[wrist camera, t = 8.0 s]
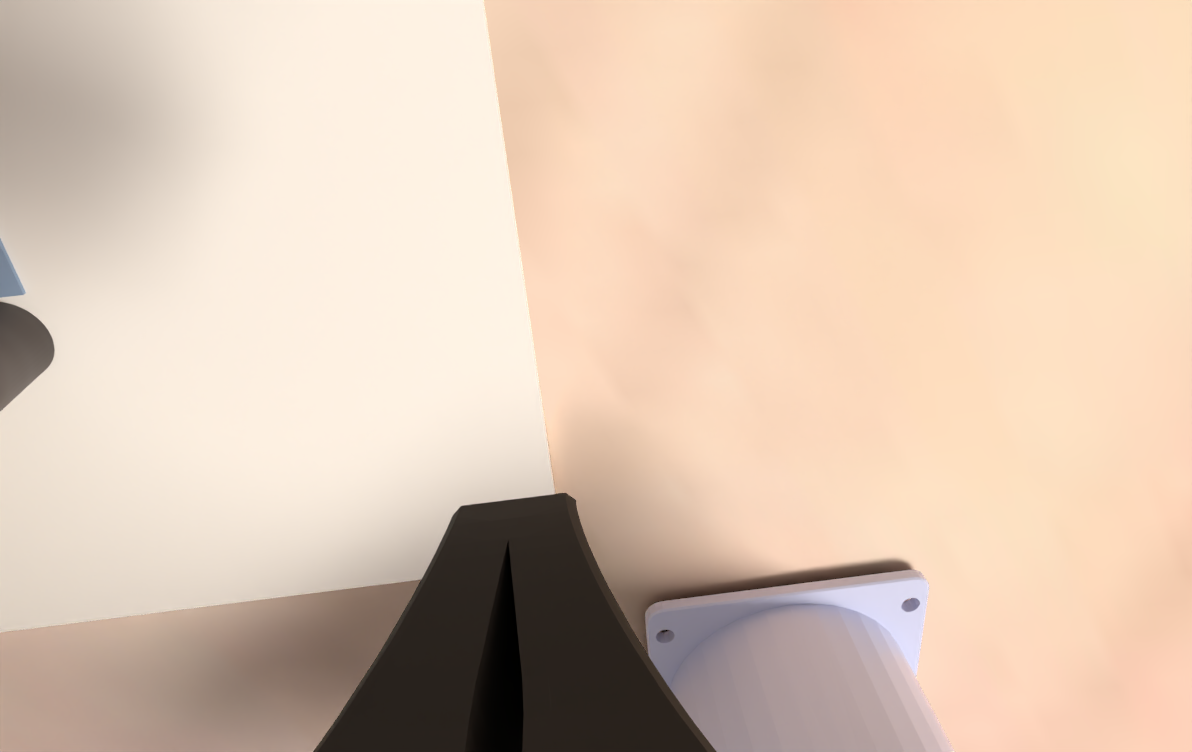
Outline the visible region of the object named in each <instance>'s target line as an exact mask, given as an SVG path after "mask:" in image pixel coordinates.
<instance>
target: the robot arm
mask: <svg viewBox="0 0 1192 752" xmlns="http://www.w3.org/2000/svg"><path fill="white" fill-rule="evenodd" d="M928 593H929V583H928V582H927V580H926V579H925V577H924V575H923V574H922V573H921V572H919V571H917V570H903V571H895V572H887V573H879V574H871V575H864V576H856V577H848V578H840V579H832V580H824V581H817V582H809V583H801V584H793V585H785V586H777V587H769V588H762V589H754V590H746V591H738V592H730V593H722V594H715V595H707V596H699V597H691V598H683V599H675V600H667V601H661V602H657V603H654V604H653V605H651V606H650V607H649V608H648V609H647V610H646V612H645V625H646V637H647V648H648V654H647V653H646V651H645V650H644V648H643V647H642V645H641V643H640V642H639V640H638V638H637V637H636V635H635V633H634V632H633V630H632V628H631V627H630V625H629V623H628V621H627V620H626V618H625V616H624V614H623V612H622V611H621V609H620V607H619V605H618V603H617V602H616V600H615V598H614V596H613V595H612V593H611V591H610V589H609V587H608V585H607V583H606V581H605V579H604V577H603V575H602V573H601V571H600V569H599V567H598V565H597V563H596V561H595V558H594V556H593V554H592V552H591V549H590V547H589V545H588V542H587V540H586V537H585V534H584V532H583V529H582V526H581V523H580V519H579V516H578V512H577V507H576V500H575V499H573V498H572V497H570V496H569V495H568V494H566V493H560V494H552V495H544V496H536V497H528V498H520V499H512V500H504V501H496V502H488V503H479V504H471V505H463V506H460V508H459V509H458V510H457V511H456V512H455V513H454V514H453V516H452V518H451V521H450V523H449V525H448V527H447V530H446V532H445V534H444V536H443V538H442V540H441V542H440V544H439V546H438V548H437V551H436V553H435V555H434V557H433V559H432V560H431V562H430V564H429V566H428V568H427V570H426V572H425V574H424V576H423V578H422V580H421V581H420V583H419V585H418V587H417V589H416V591H415V593H414V595H413V596H412V598H411V600H410V602H409V603H408V605H407V607H406V608H405V610H404V612H403V614H402V615H401V617H400V619H399V621H398V622H397V624H396V626H395V628H394V629H393V631H392V633H391V634H390V636H389V638H388V640H387V641H386V643H385V645H384V646H383V648H382V650H381V651H380V653H379V655H378V656H377V658H376V659H375V661H374V662H373V664H372V666H371V667H370V669H369V670H368V672H367V673H366V675H365V676H364V678H363V679H362V681H361V682H360V684H359V685H358V687H357V688H356V690H355V692H354V693H353V695H352V696H351V698H350V699H349V701H348V702H347V704H346V705H345V707H344V708H343V710H342V711H341V713H340V714H339V716H338V718H337V719H336V720H335V722H334V723H333V725H332V726H331V728H330V729H329V731H328V732H327V733H326V735H325V736H324V738H323V739H322V740H321V742H320V743H319V745H318V746H317V747H316V749H315V750H314V752H955V751H954V749H953V747H952V745H951V743H950V741H949V739H948V737H947V735H946V734H945V732H944V730H943V728H942V726H941V724H940V722H939V720H938V718H937V717H936V715H935V713H934V711H933V709H932V707H931V705H930V703H929V701H928V699H927V698H926V696H925V694H924V692H923V690H922V688H921V686H920V684H919V682H918V681H917V679H916V676H917V669H918V662H919V655H920V648H921V641H922V634H923V627H924V620H925V614H926V607H927V600H928ZM910 598H911V599H910ZM907 599H910V600H908V601H905V600H907ZM904 601H905V602H904ZM662 630H669V631H667V632H664V633H662V632H660V631H662Z"/></svg>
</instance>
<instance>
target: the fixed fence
mask: <svg viewBox="0 0 1192 752" xmlns="http://www.w3.org/2000/svg"><path fill="white" fill-rule="evenodd" d="M54 351H55V349H54V343H53V339H52V337H51V335H50V333H49V331H48V329H47V328H46V327H45V325H44V324H43V323H42V322H41V321H40V320H39V319H38V318H37V317H35V316H34V315H33V314H31V313H30V312H28V311H27V310H25V309H23V308H21V307H18V306H16V305H13V304H9V303H4V302H0V411H2V410H3V409H4V408H5V407H6V406H7V405H8V404H9V403H10V402H11V401H12V400H13V399H15V398H16V397H17V396H18V395H19V394H20V393H21V392H22V391H23V390H24V389H25V388H26V387H27V386H29V385H30V384H31V383H32V382H33V381H34V380H35V379H36V378H37V377H38V376H39V375H40V374H42V373H43V372H44V371H45V370H46V369H47V368H48V367H49V366H50V364H51V362H52V360H53V357H54Z"/></svg>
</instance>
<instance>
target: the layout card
mask: <svg viewBox="0 0 1192 752" xmlns="http://www.w3.org/2000/svg"><path fill="white" fill-rule="evenodd" d="M0 302H4V303H9V304H13V305H16V306H18V307H21V308H23V309H25V310H27V311H28V312H30V313H31V314H33V315H34V316H35V317H37V318H38V319H39V320H40V321H41V322H42V323H43V324H44V325H45V327H46V328H47V329H48V331H49V333H50V335H51V337H52V339H53V343H54V349H55V351H54V357H53V360H52V362H51V364H50V366H49V367H48V368H47V369H46V370H45V371H44V372H43V373H42V374H40V375H39V376H38V377H37V378H36V379H35V380H34V381H33V382H32V383H31V384H30V385H29V386H27V387H26V388H25V389H24V390H23V391H22V392H21V393H20V394H19V395H18V396H17V397H16V398H15V399H13V400H12V401H11V402H10V403H9V404H8V405H7V406H6V407H5V408H4V409H3V410H2V411H0V633H1V632H9V631H17V630H25V629H33V628H41V627H49V626H56V625H64V624H72V623H80V622H88V621H96V620H104V619H112V618H120V617H128V616H136V615H144V614H152V613H160V612H168V611H176V610H184V609H192V608H200V607H208V606H215V605H223V604H231V603H239V602H247V601H255V600H263V599H271V598H279V597H287V596H295V595H303V594H311V593H319V592H327V591H335V590H343V589H351V588H359V587H367V586H374V585H382V584H390V583H398V582H406V581H414V580H422V578H423V576H424V574H425V572H426V570H427V568H428V566H429V564H430V562H431V560H432V559H433V557H434V555H435V553H436V551H437V548H438V546H439V544H440V542H441V540H442V538H443V536H444V534H445V532H446V530H447V527H448V525H449V523H450V521H451V518H452V516H453V514H454V513H455V512H456V511H457V510H458V509H459V508H460V506H463V505H471V504H479V503H488V502H496V501H504V500H512V499H520V498H528V497H536V496H544V495H552V494H555V488H554V481H553V474H552V467H551V460H550V453H549V447H548V440H547V433H546V426H545V419H544V412H543V405H542V398H541V391H540V385H539V378H538V371H537V364H536V357H535V350H534V343H533V336H532V329H531V322H530V316H529V309H528V302H527V295H526V288H525V281H524V274H523V267H522V260H521V254H520V247H519V240H518V233H517V226H516V219H515V212H514V205H513V198H512V192H511V185H510V178H509V171H508V164H507V157H506V150H505V143H504V136H503V130H502V123H501V116H500V109H499V102H498V95H497V88H496V81H495V74H494V68H493V61H492V54H491V47H490V40H489V33H488V26H487V19H486V12H485V5H484V0H0Z"/></svg>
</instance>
